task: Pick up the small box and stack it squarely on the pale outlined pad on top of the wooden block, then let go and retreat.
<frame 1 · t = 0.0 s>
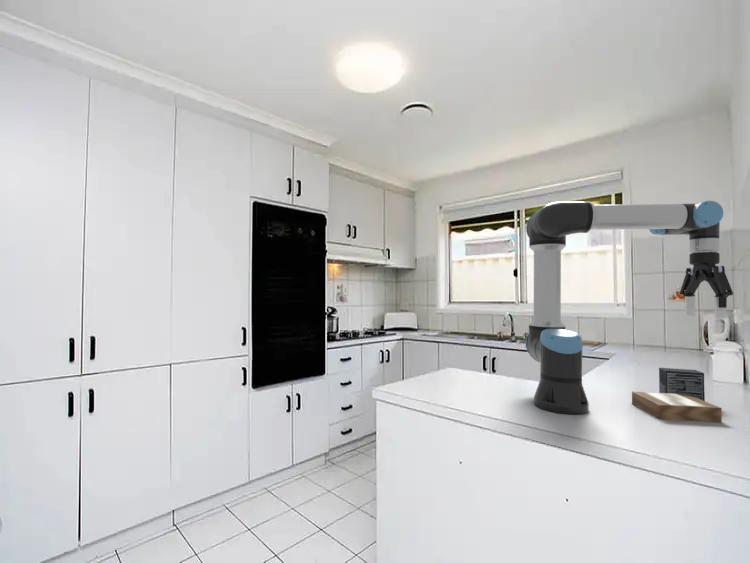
hand: (704, 316, 124), 28 cm above the counter, fingers open, 13 cm apart
wooden block: (673, 412, 113), on the counter
small box: (681, 402, 125), on the counter
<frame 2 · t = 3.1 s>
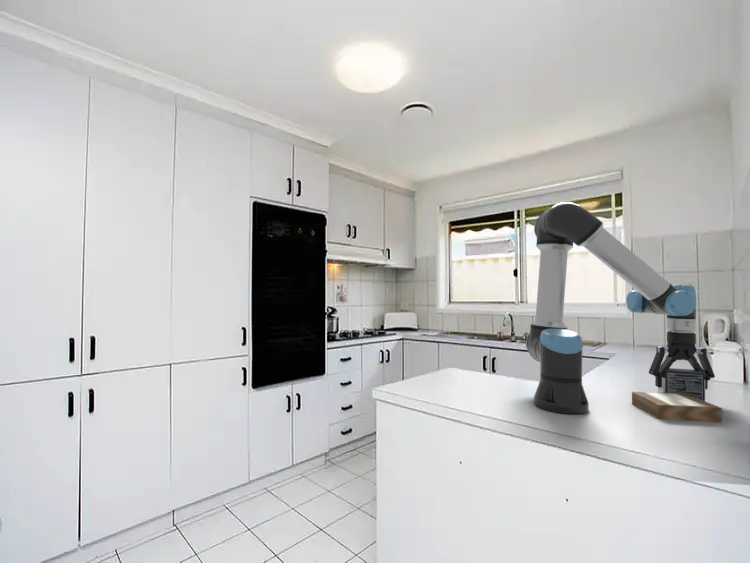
hand: (681, 398, 125), 1 cm above the counter, fingers closed on small box, 11 cm apart
small box: (681, 402, 125), on the counter, touching gripper
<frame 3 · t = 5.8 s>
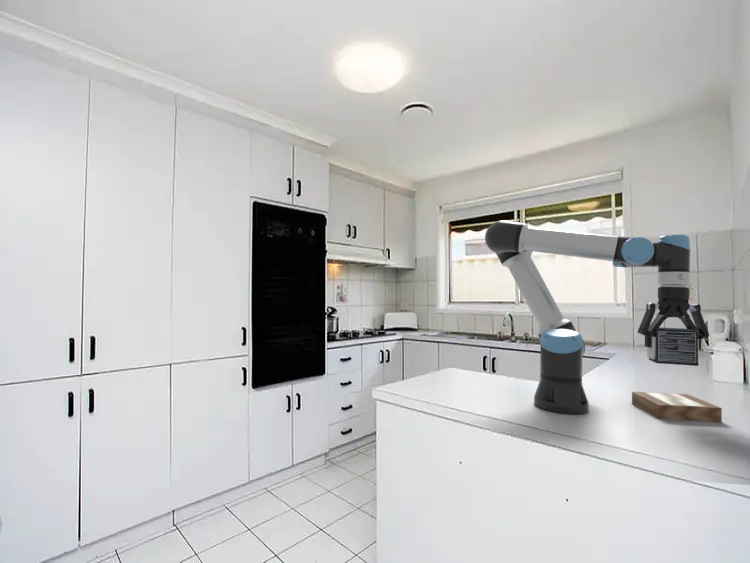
hand: (672, 359, 114), 16 cm above the counter, fingers closed on small box, 11 cm apart
small box: (672, 363, 114), point 14 cm above the counter, touching gripper
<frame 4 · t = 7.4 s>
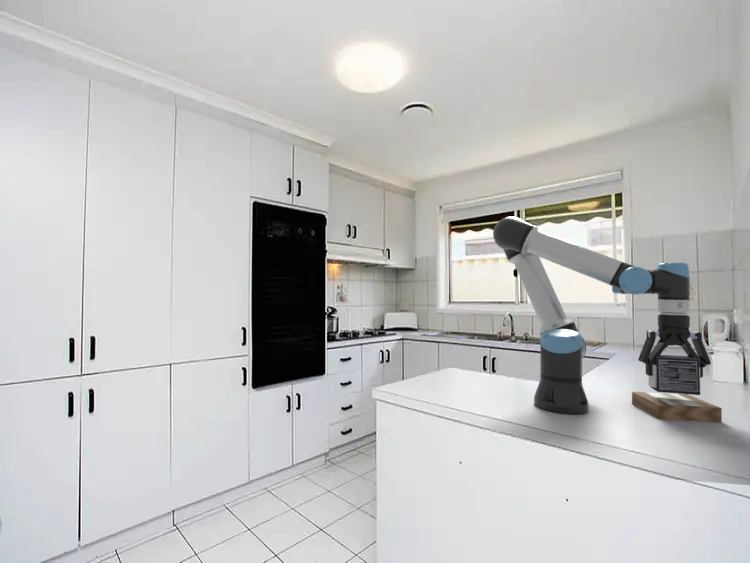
hand: (673, 387, 113), 7 cm above the counter, fingers closed on small box, 11 cm apart
small box: (674, 391, 113), point 6 cm above the counter, touching gripper
when the fingers open (6 cm above the counter, at t = 8.6 s): small box drops 1 cm, resting on wooden block.
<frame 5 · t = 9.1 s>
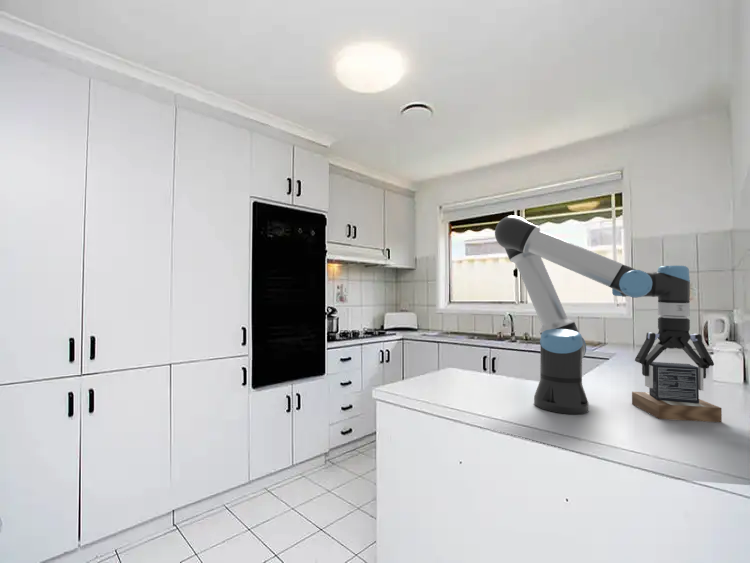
hand: (673, 388, 113), 7 cm above the counter, fingers open, 13 cm apart
small box: (673, 399, 113), point 4 cm above the counter, touching wooden block
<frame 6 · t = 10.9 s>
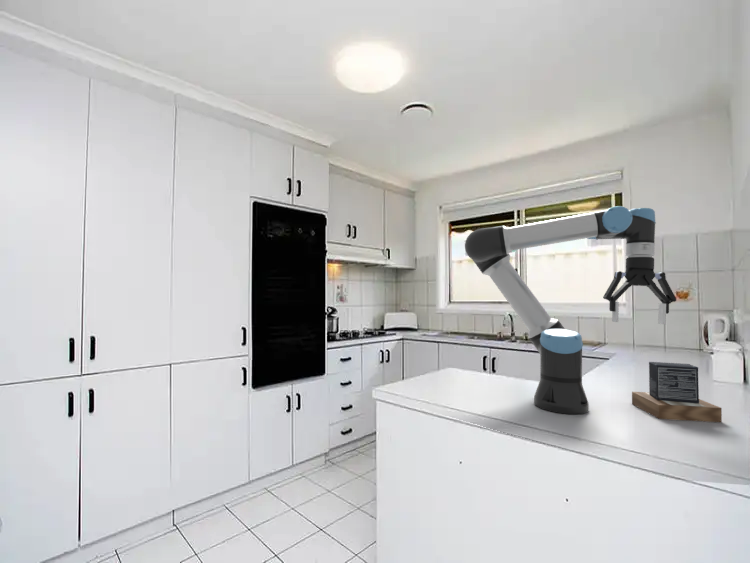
hand: (638, 322, 122), 26 cm above the counter, fingers open, 13 cm apart
nothing on the counter moved.
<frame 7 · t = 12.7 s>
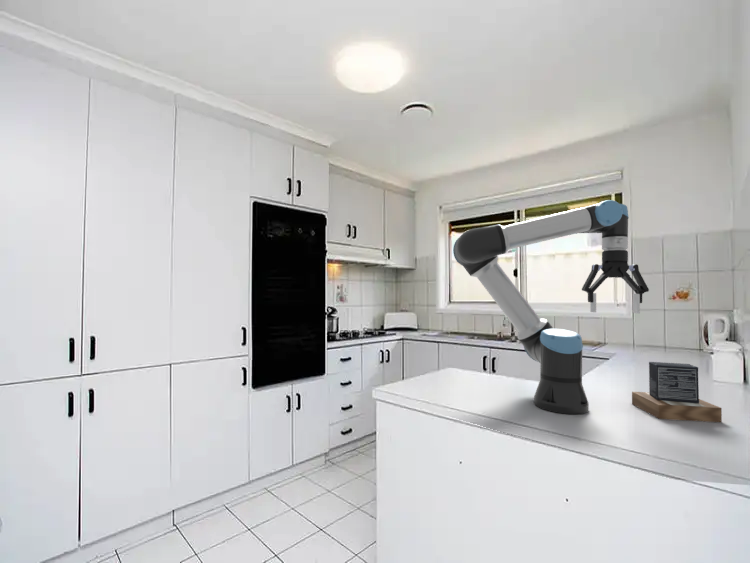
hand: (614, 312, 129), 29 cm above the counter, fingers open, 13 cm apart
nothing on the counter moved.
at the end: small box inside the target area on the wooden block (0.1 cm from its centre), point 3.8 cm above the wooden block's base; small box touching wooden block; small box tilted 0° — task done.
